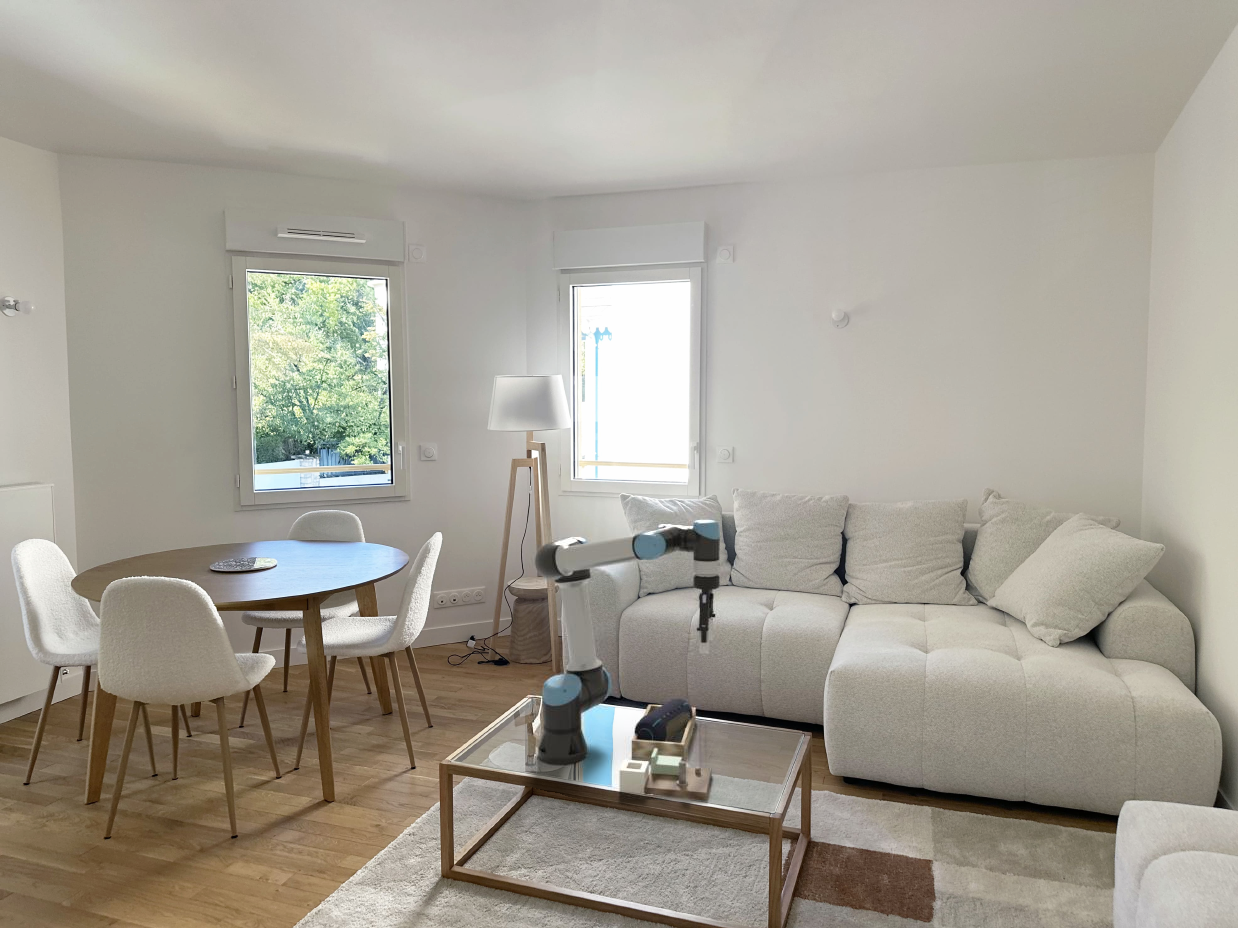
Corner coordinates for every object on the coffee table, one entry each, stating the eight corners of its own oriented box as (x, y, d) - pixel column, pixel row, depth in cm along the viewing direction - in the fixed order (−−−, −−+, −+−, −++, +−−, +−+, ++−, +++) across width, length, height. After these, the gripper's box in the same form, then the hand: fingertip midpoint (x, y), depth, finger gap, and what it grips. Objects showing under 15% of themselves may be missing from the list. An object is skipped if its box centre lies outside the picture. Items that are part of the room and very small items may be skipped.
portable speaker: (658, 755, 256) (658, 723, 255) (630, 747, 261) (630, 716, 260) (697, 727, 276) (697, 698, 276) (671, 721, 282) (671, 692, 281)
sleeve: (619, 791, 233) (619, 770, 232) (624, 779, 239) (624, 759, 239) (644, 793, 231) (644, 772, 231) (648, 781, 238) (648, 761, 238)
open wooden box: (631, 756, 255) (631, 740, 255) (648, 718, 286) (648, 704, 285) (684, 760, 252) (684, 744, 252) (695, 721, 282) (695, 707, 282)
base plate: (644, 794, 231) (644, 765, 230) (653, 770, 245) (653, 743, 245) (706, 799, 227) (706, 770, 227) (711, 775, 242) (711, 748, 241)
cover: (651, 773, 239) (651, 756, 238) (654, 764, 245) (654, 748, 244) (679, 775, 237) (679, 758, 237) (681, 766, 243) (681, 750, 243)
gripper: (716, 583, 229) (715, 659, 231) (722, 566, 254) (722, 634, 255) (688, 582, 231) (688, 658, 232) (697, 565, 255) (697, 633, 257)
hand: (706, 646), depth 244 cm, fingers open, 13 cm apart
